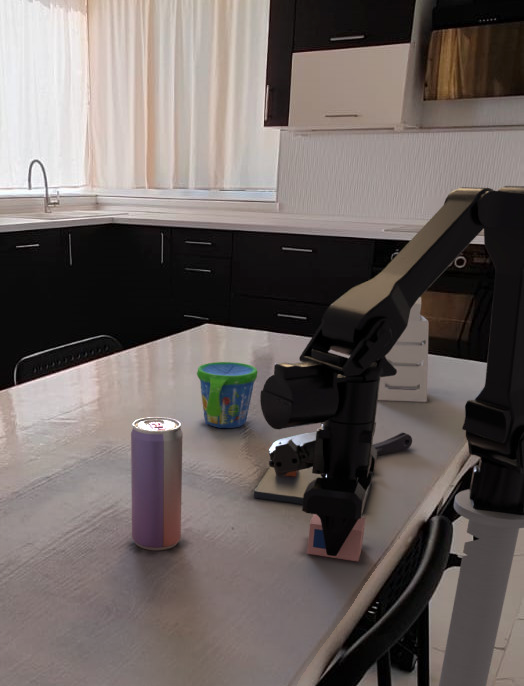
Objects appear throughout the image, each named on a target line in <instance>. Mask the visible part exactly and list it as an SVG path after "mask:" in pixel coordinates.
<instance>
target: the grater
mask: <svg viewBox="0 0 524 686" xmlns="http://www.w3.org/2000/svg"><path fill="white" fill-rule="evenodd" d="M421 311H422V296H421V297H420V298H419V299H418V300H417V301H416V302H415V304H414V305H413V307H412V308H411V310H410V315H409V320H408V325H407V327H406V329H405V330H404V332H403V333H402V335H401V336H400V338H399V339H398V340H397V342H396V343H395V345H394V346H393V348H392V349H391V350H390V352H389V353H388V354H387V355H386V356H385V357H386V359H387V361H388V362H389V363H390V364H391V365H392V366H393V367H394V368H395V369H396V370H397V373H396V375H394V376H387V377H381V378H380V385H379V394H378V401H392V402H393V401H394V402H420V403H422V402H423V403H426V402H428V377H429V376H428V371H429V370H428V369H429V327H430V325H429V320H428V319H427V318H426V317H425V316H423V315H422V314H421Z"/></svg>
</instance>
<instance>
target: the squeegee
mask: <svg viewBox="0 0 524 686" xmlns="http://www.w3.org/2000/svg"><path fill="white" fill-rule="evenodd" d="M412 444H413V438H412V436H411V434H408V433H406V432H400V433H398V434H396V435H394V436H392V437H389V438H387V439H385V440H383V441H380V442H376V443H372V445H373V446H374V447H375V449H376V450H377V456H378V455H385V454H390V453H395V452H401V451H402V452H403V451H405V450H408V449H410V447H411V446H412ZM375 470H376V468H375V469H374V471H369V472H370V473H372V474H373V473H374V472H375Z"/></svg>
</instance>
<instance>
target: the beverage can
mask: <svg viewBox="0 0 524 686" xmlns="http://www.w3.org/2000/svg"><path fill="white" fill-rule="evenodd" d="M183 434H184V433H183V431H182V424H181V422H180V421H179V420H177V419H174V418H170V417H162V416H150V417H143V418H139V419H136V420H135V421H134V422H133V423H132V429H131V432H130V467H131V468H130V473H131V474H130V475H131V476H130V479H131V482H130V483H131V484H130V485H131V538H132V540H133V542H134V544H135V545H136V546H137V547H139V548H140V549H143V550H146V551H153V552H157V551H160V552H161V551H166V550H170V549H172V548H174V547H175V546H176V545H178V543H179V542H180V540H181V538H182V495H183V494H182V493H183V492H182V489H183V488H182V487H183V485H182V483H183V436H184V435H183Z"/></svg>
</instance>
